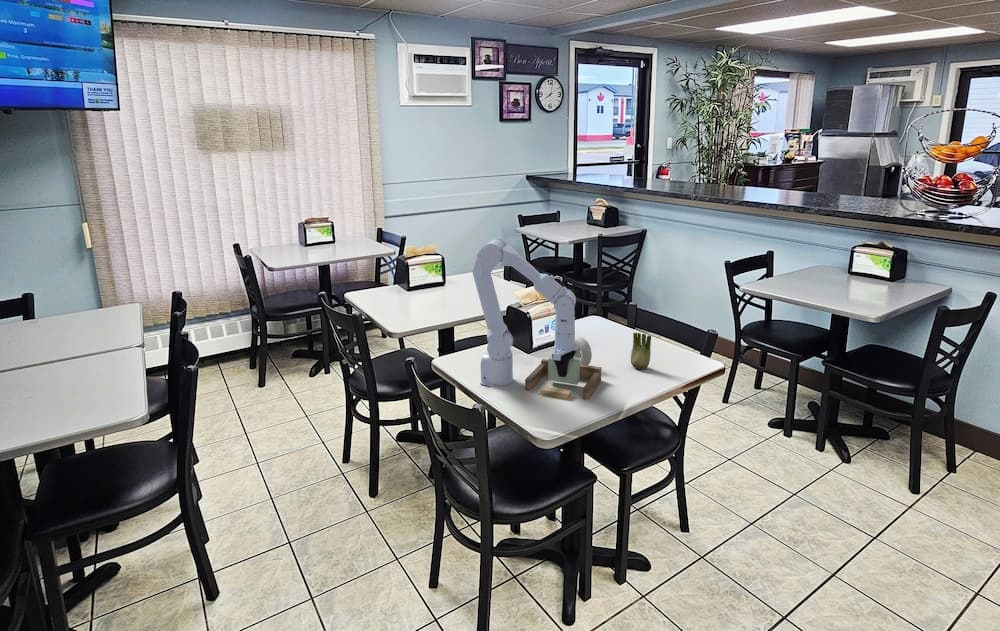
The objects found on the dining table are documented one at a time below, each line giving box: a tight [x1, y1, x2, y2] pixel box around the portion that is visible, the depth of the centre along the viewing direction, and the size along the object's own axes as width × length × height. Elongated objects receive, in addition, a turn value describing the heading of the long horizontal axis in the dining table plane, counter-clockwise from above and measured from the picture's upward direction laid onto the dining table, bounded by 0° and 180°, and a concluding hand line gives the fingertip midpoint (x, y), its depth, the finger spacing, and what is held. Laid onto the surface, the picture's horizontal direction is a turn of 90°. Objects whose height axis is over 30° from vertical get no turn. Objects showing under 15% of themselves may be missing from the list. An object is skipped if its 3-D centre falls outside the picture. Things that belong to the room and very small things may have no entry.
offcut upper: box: [540, 385, 573, 400], centre depth 171 cm, size 8×3×2 cm, turn 65°
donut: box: [573, 336, 593, 366], centre depth 192 cm, size 10×4×10 cm, turn 25°
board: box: [547, 355, 580, 385], centre depth 177 cm, size 9×2×7 cm, turn 66°
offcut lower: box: [537, 390, 574, 401], centre depth 172 cm, size 10×3×2 cm, turn 64°
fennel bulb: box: [630, 332, 652, 370], centre depth 189 cm, size 6×5×12 cm
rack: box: [524, 358, 603, 401], centre depth 178 cm, size 19×15×5 cm
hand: (563, 374), depth 177 cm, fingers closed on board, 2 cm apart
